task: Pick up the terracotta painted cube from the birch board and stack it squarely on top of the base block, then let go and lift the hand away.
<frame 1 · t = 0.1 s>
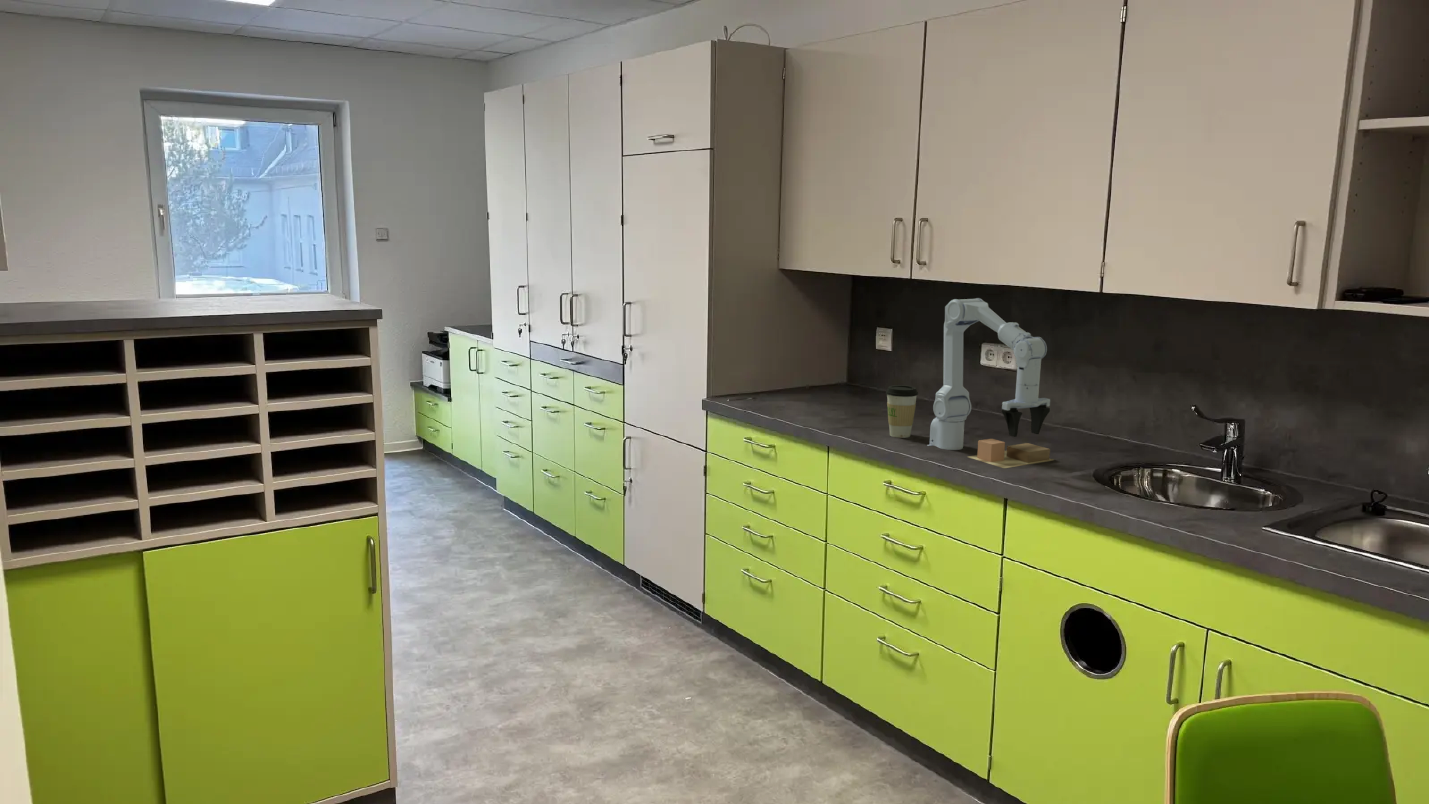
hand: (1024, 434, 250), 10 cm above the worktop, fingers open, 7 cm apart
cube: (990, 459, 262), point 1 cm above the worktop, touching stacking base
stacking base: (1010, 461, 263), on the worktop
coffee cup: (899, 436, 293), on the worktop
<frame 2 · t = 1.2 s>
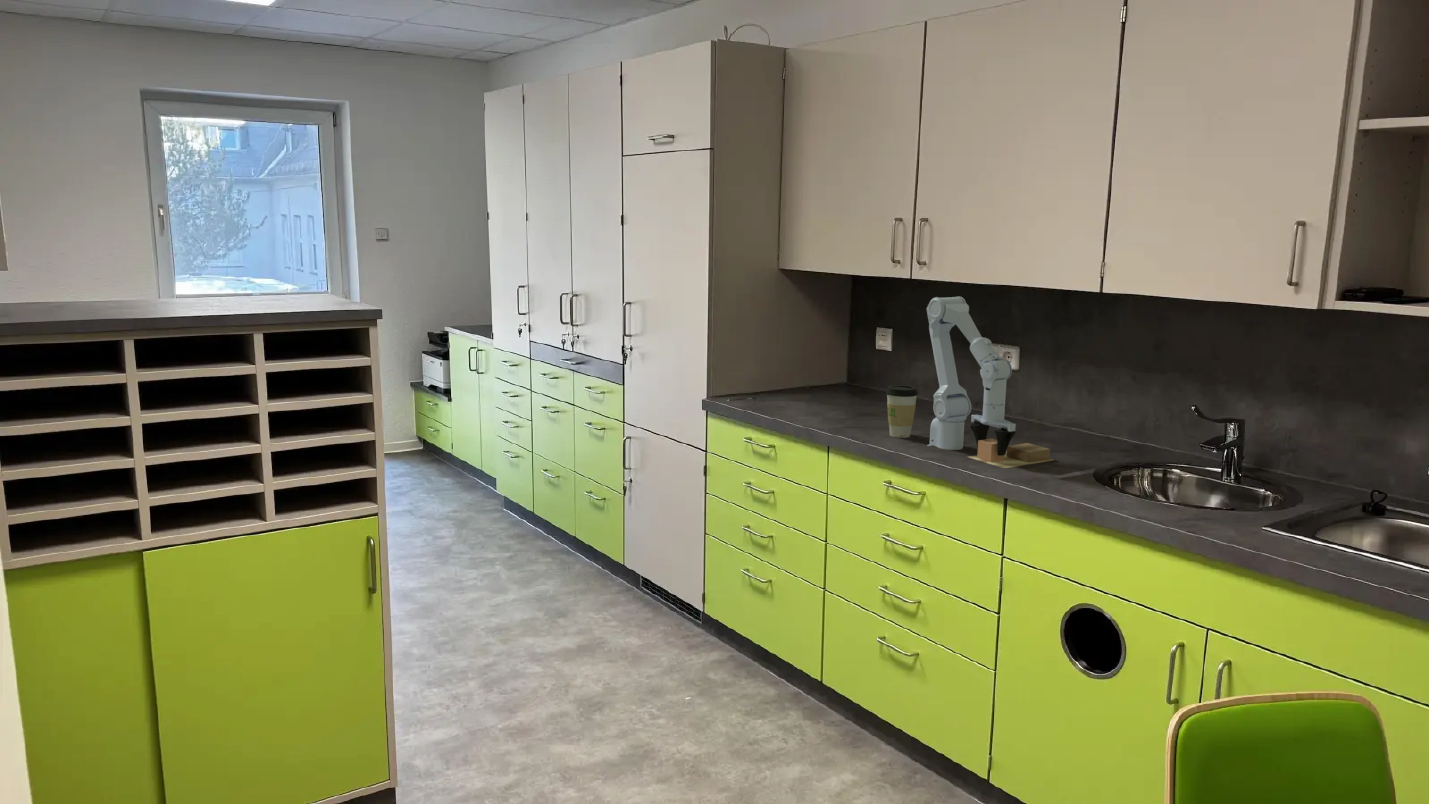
hand: (991, 452, 261), 3 cm above the worktop, fingers open, 7 cm apart
nothing on the worktop moved.
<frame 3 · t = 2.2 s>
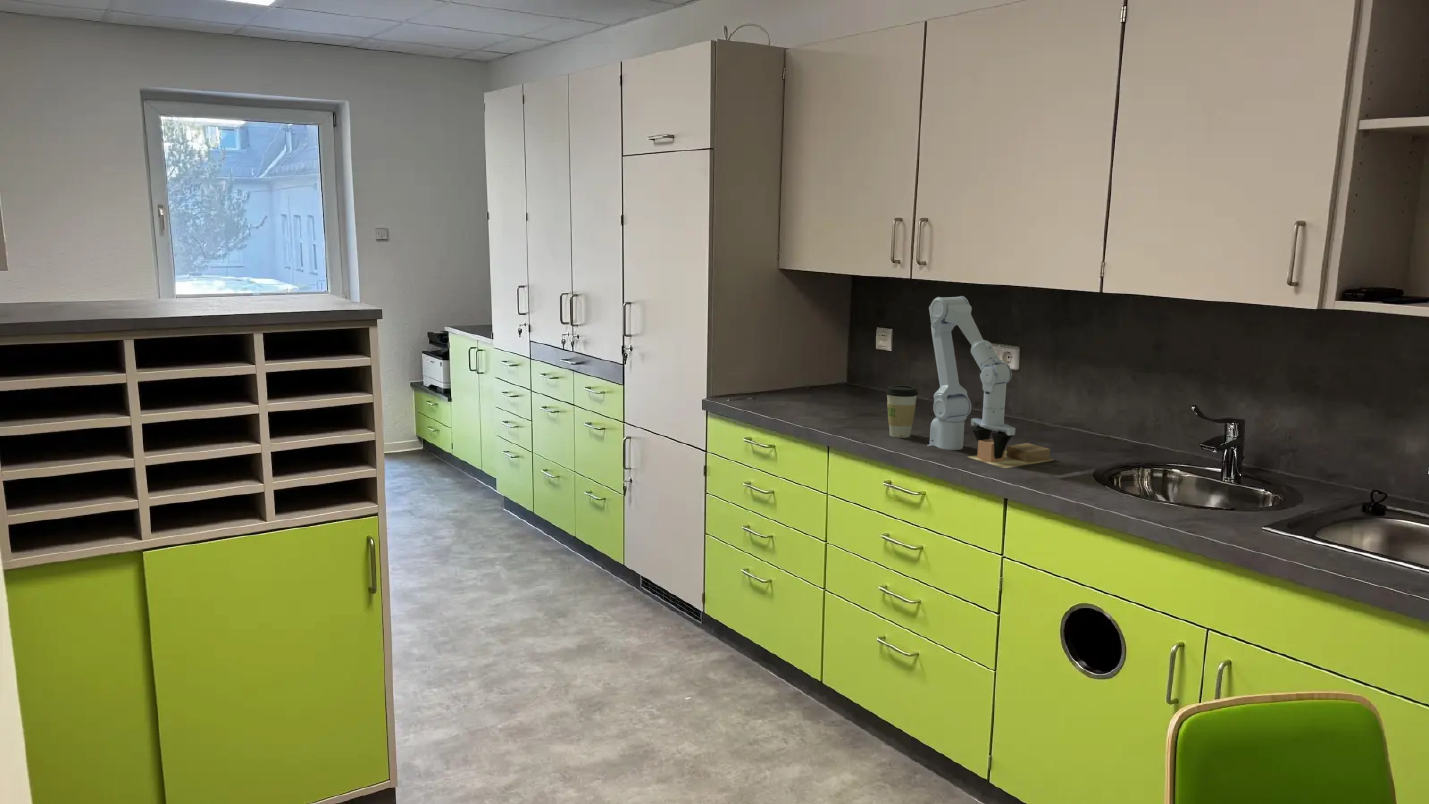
hand: (990, 455, 261), 2 cm above the worktop, fingers closed on cube, 5 cm apart
cube: (990, 459, 262), point 1 cm above the worktop, touching gripper, stacking base
everything else where it was.
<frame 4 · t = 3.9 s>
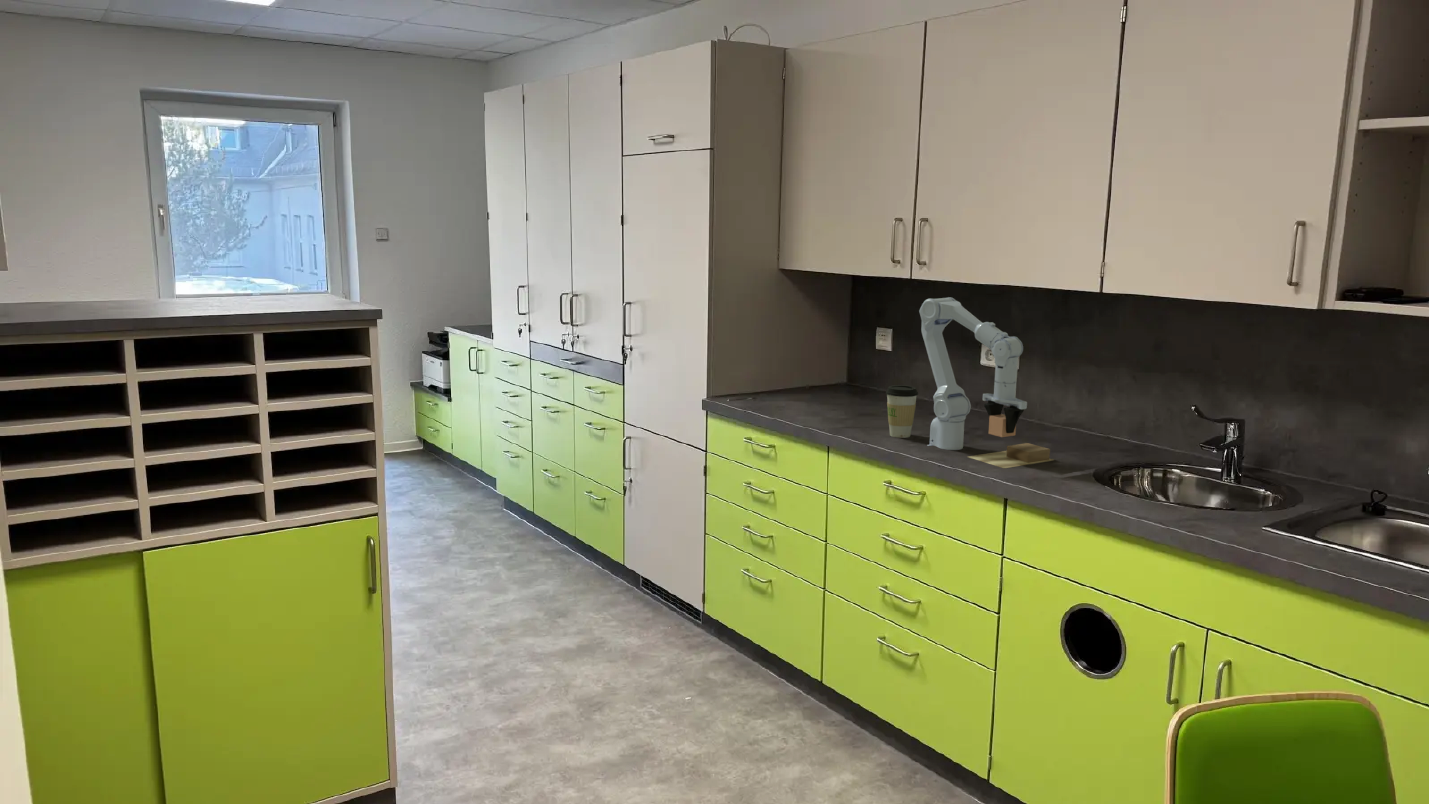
hand: (1002, 430, 260), 9 cm above the worktop, fingers closed on cube, 5 cm apart
cube: (1001, 434, 260), point 8 cm above the worktop, touching gripper
everything else where it was.
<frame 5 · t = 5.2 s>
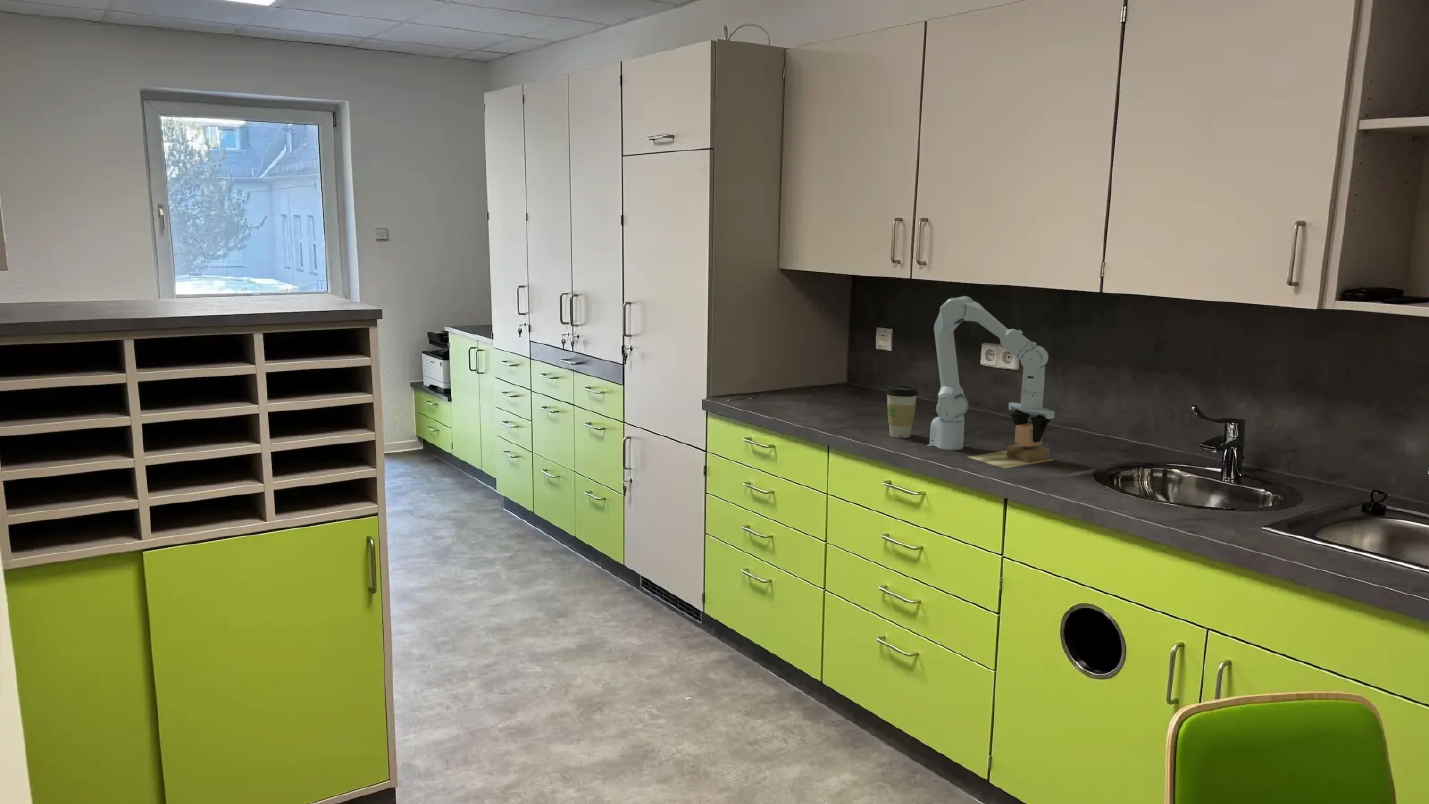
hand: (1028, 439, 262), 6 cm above the worktop, fingers closed on cube, 5 cm apart
cube: (1028, 443, 262), point 5 cm above the worktop, touching gripper
everything else where it was.
when the fingers open (6 cm above the worktop, at t = 5.9 s): cube drops 1 cm, resting on stacking base.
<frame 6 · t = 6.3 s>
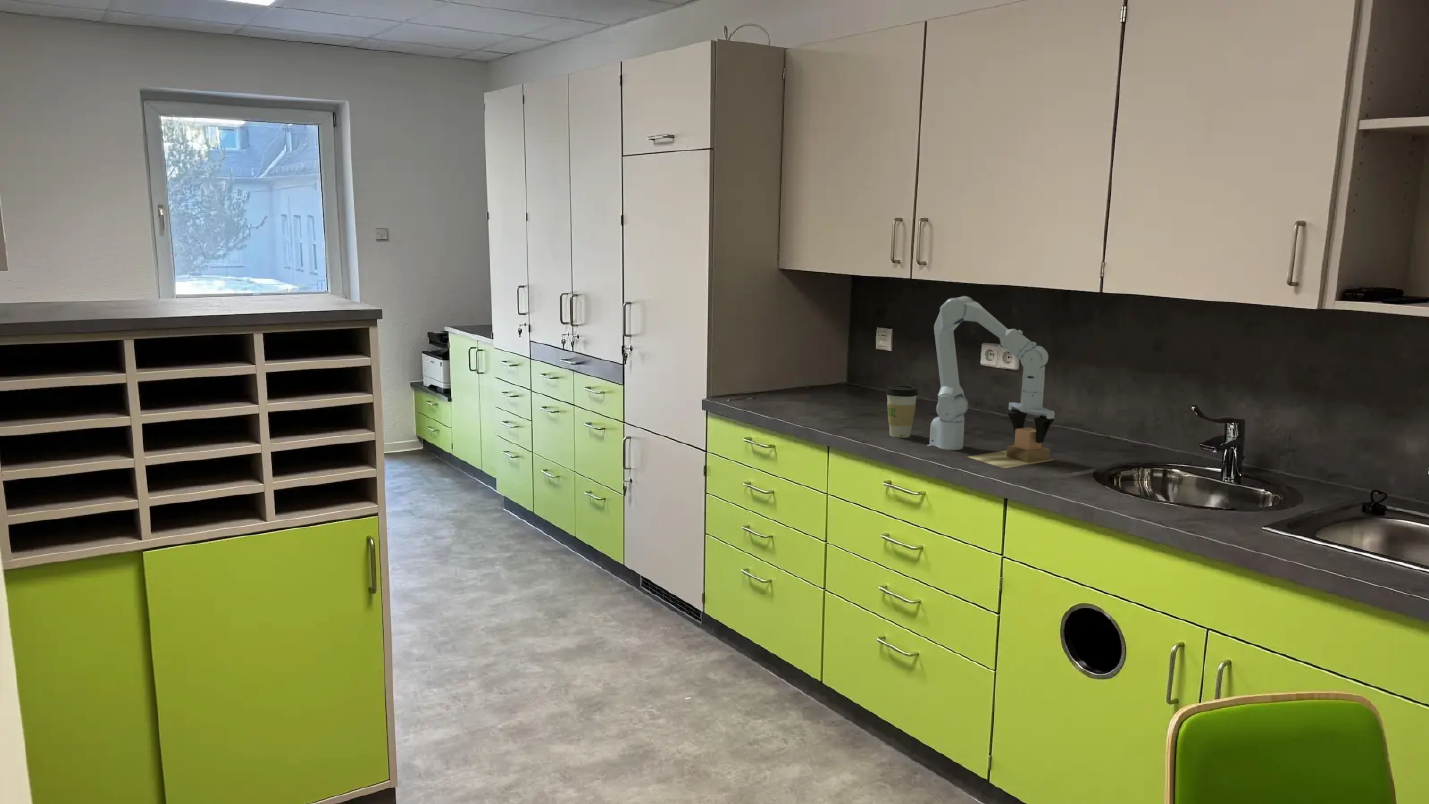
hand: (1029, 439, 262), 6 cm above the worktop, fingers open, 7 cm apart
cube: (1027, 447, 262), point 4 cm above the worktop, touching stacking base
everything else where it was.
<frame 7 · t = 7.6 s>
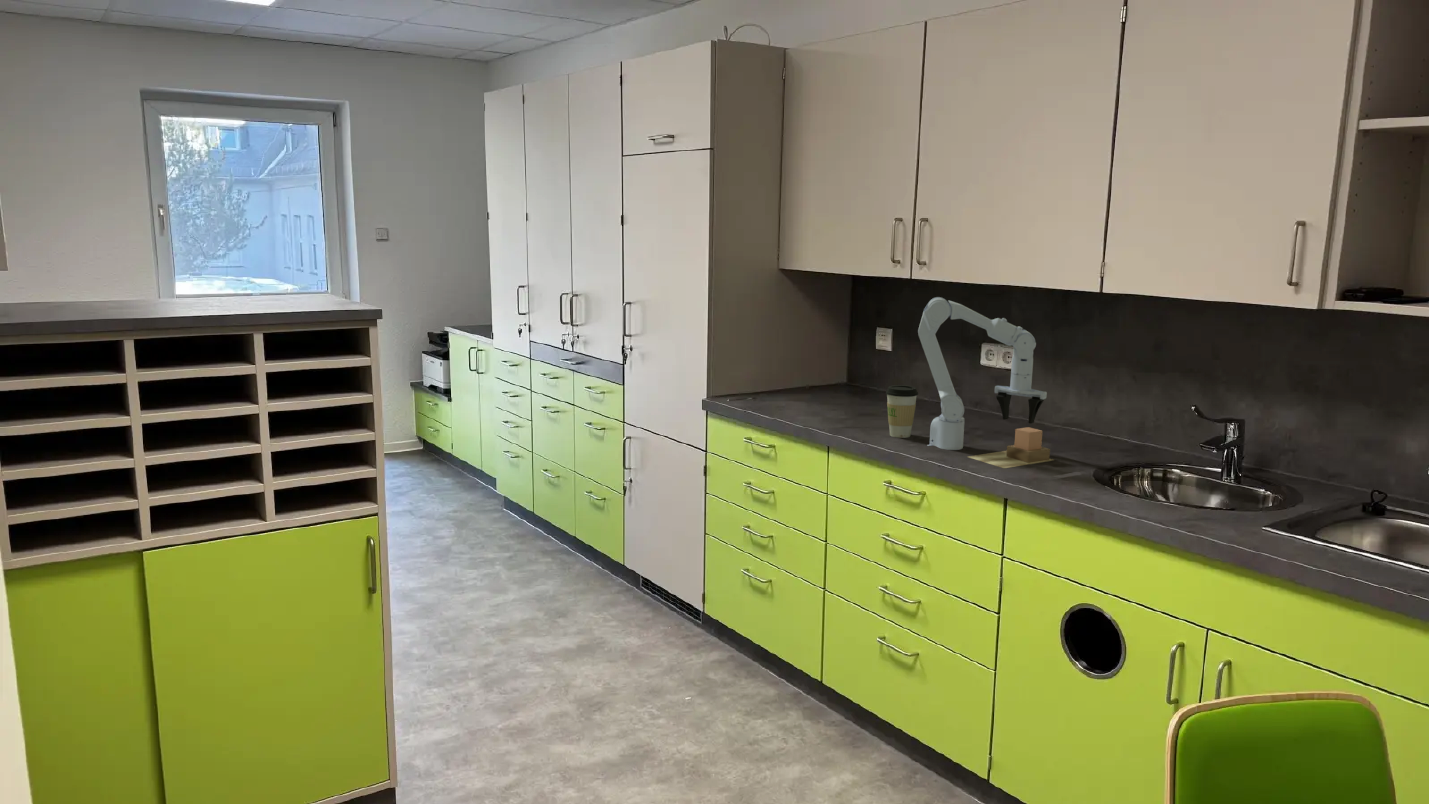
hand: (1018, 420, 270), 9 cm above the worktop, fingers open, 7 cm apart
nothing on the worktop moved.
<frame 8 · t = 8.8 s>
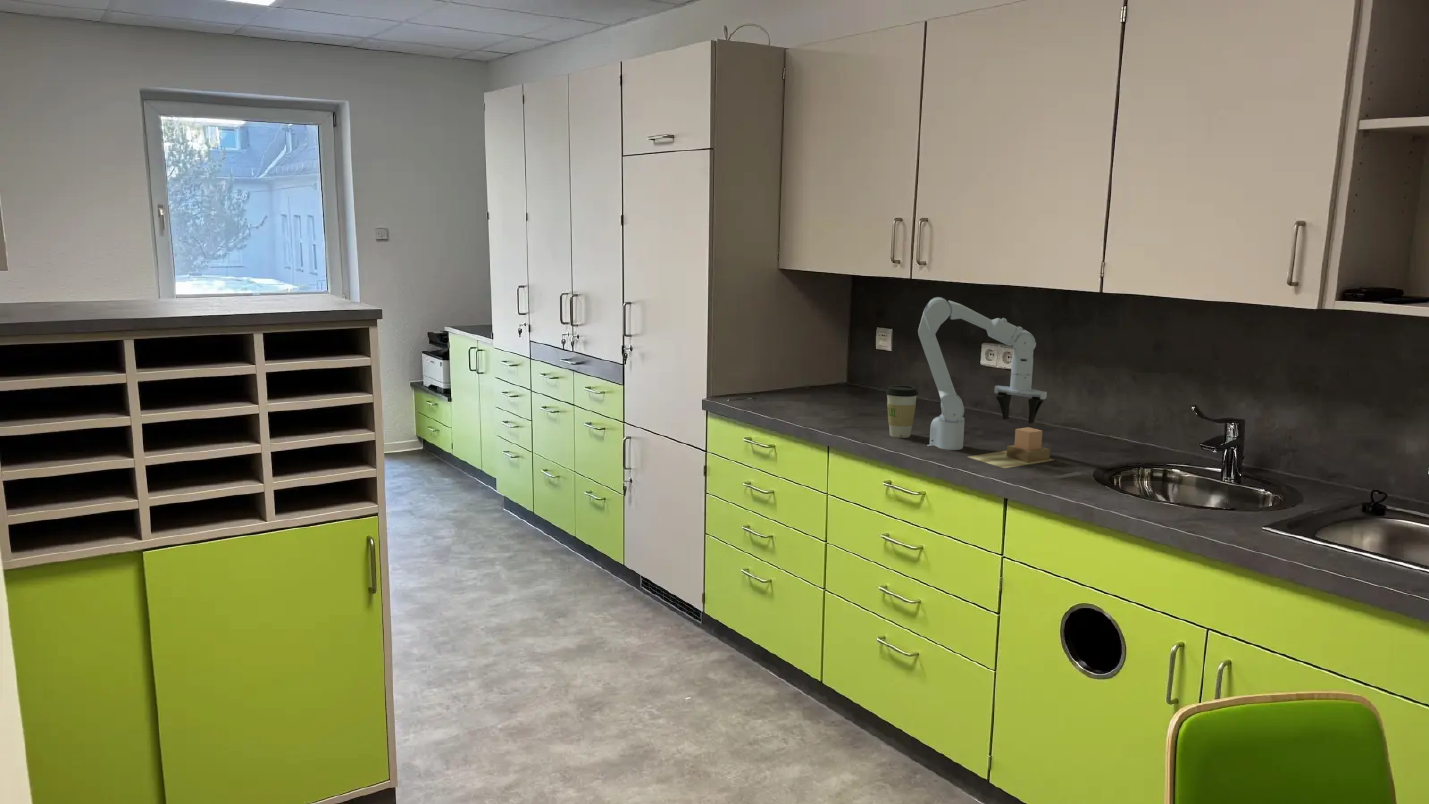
hand: (1018, 420, 270), 9 cm above the worktop, fingers open, 7 cm apart
nothing on the worktop moved.
at the end: cube 0.2 cm from the target spot on the stacking base, point 3.8 cm above the stacking base's base; cube tilted 0°; the gripper is holding nothing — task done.
